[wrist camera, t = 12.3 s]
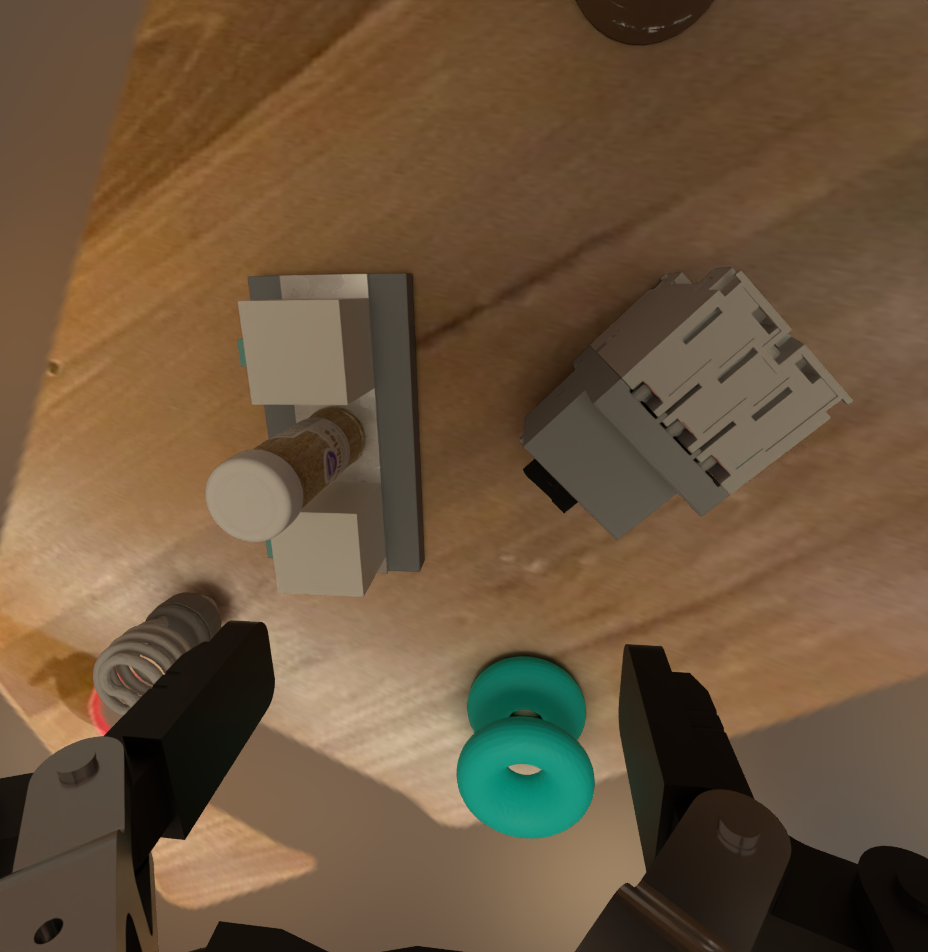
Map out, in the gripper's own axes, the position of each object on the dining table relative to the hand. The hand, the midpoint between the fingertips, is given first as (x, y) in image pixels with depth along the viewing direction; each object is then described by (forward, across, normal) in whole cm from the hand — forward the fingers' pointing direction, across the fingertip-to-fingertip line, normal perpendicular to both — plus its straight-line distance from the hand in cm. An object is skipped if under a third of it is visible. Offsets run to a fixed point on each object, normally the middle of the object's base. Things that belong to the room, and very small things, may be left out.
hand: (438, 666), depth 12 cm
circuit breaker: (+30, -8, -1) cm, 31 cm away
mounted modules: (+27, +12, +2) cm, 30 cm away
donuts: (+30, -2, +26) cm, 40 cm away
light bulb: (+30, +26, +18) cm, 44 cm away
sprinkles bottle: (+28, +12, +2) cm, 30 cm away
